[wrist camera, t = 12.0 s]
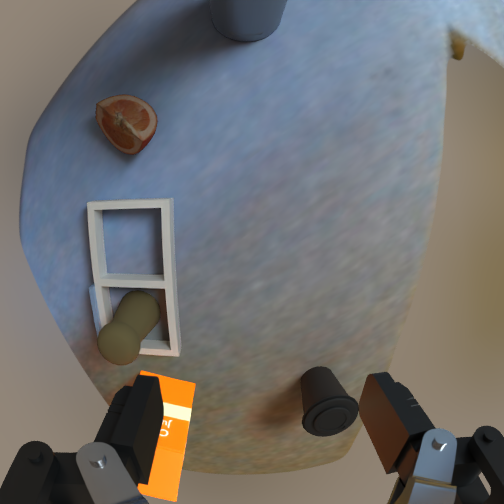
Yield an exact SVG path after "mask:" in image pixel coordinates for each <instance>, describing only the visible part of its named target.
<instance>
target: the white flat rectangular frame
mask: <svg viewBox="0 0 504 504" xmlns="http://www.w3.org/2000/svg"><path fill="white" fill-rule="evenodd" d="M134 208H161V218H162V246H163V265H164V275H151V274H112V273H107V267H106V258H105V247H104V234H103V217H102V210H105V209H134ZM87 211H88V228H89V241H90V252H91V261H92V270H93V278H94V284H92V285H91V286H90V287H89V293H90V299H91V305H92V311H93V316H94V322H95V327H96V332H97V336H98V335H99V331H100V330H101V329H102V328H103V327H104V326H105V325H106V324H108V323H110V322H112V320H113V312H112V306H111V299H110V292H109V287H129V288H160V289H165V294H166V306H167V317H168V327H169V336H170V341H163V340H147V339H143V340H142V342H141V347H140V352H139V354H148V355H162V356H179V354H180V351H181V348H182V346H181V336H180V325H179V312H178V299H177V283H176V265H175V241H174V198H145V199H118V200H98V201H91V202H87Z"/></svg>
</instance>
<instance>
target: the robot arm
mask: <svg viewBox="0 0 504 504" xmlns="http://www.w3.org/2000/svg"><path fill="white" fill-rule="evenodd" d="M209 2H210V9H211V16H212V21H213V24H214V26H215V28H216V29H217V30H218V31H219V32H220V33H221V34H223V35H224V36H226V37H228V38H230V39H233V40H237V41H245V42H246V41H256V40H260V39H263V38H265V37H267V36H269V35H271V34H272V33H273V32H274V31H275V30H276V29H277V28H278V26H279V24H280V21H281V18H282V15H283V11H284V9H285V6H286V2H287V0H209ZM359 414H360V417H361V419H362V421H363V424H364V426H365V428H366V430H367V432H368V434H369V436H370V439H371V441H372V443H373V445H374V447H375V449H376V452H377V454H378V456H379V458H380V460H381V462H382V465H383V467H384V469H385V471H386V474H390V473H394V472H398V474H399V477H398V478H397V480H396V483H395V485H394V488H393V491H392V493H391V496H390V498H389V501H388V503H387V504H504V437H503V435H502V434H501V433H500V432H499V431H498V430H497V429H496V428H494V427H491V426H482V427H479V428H478V429H477V430H476V432H475V433H474V434H473V436H472V437H460V438H455V436H454V435H453V434H452V433H451V432H449V431H447V430H445V429H440V428H435V427H434V425H433V424H432V422H431V421H430V419H429V418H428V416H427V415H426V413H425V412H424V411H423V409H422V408H421V406H420V405H418V402H417V401H416V399H414V397H413V395H412V394H411V392H410V391H409V389H408V388H406V387H405V386H403V385H402V384H401V383H399V382H396V383H395V382H394V380H393V379H392V377H391V376H390V374H389V373H388V372H381V373H374V374H369V375H368V376H367V379H366V382H365V385H364V388H363V392H362V395H361V398H360V401H359ZM163 418H164V405H163V399H162V393H161V388H160V382H159V378H158V376H149V375H140V374H139V375H138V376H137V377H136V380H135V382H134V384H133V387H131V386H124V387H123V388H122V389H120V390H119V391H118V392H117V393H116V394H115V396H114V398H113V401H112V403H111V405H110V407H109V409H108V413H106V416H105V418H104V420H103V422H102V425H101V427H100V429H99V431H98V434H97V436H96V438H95V440H94V442H92V443H88V444H86V445H85V446H83V447H82V448H80V450H79V451H78V452H76V453H58V452H56V453H54V452H53V451H52V449H51V448H50V447H49V446H48V445H47V444H45V443H43V442H40V441H31V442H28V443H26V444H24V445H23V446H22V447H21V448H20V449H19V451H18V453H17V455H16V457H15V459H14V461H13V463H12V465H11V467H10V469H9V471H8V473H7V475H6V477H5V480H4V481H3V484H2V486H1V488H0V504H149V503H148V501H147V500H146V499H145V498H144V497H143V496H142V494H141V493H140V491H139V490H138V484H144V485H148V482H149V478H150V473H151V469H152V465H153V460H154V456H155V452H156V447H157V443H158V439H159V435H160V431H161V427H162V423H163ZM481 472H482V473H483V474H484V476H485V478H486V480H487V481H488V483H489V485H490V487H491V494H490V496H489V494H488V492H487V490H486V489H485V487H484V485H483V483H482V481H481V480H480V478H479V476H478V475H479V474H480V473H481Z"/></svg>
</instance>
